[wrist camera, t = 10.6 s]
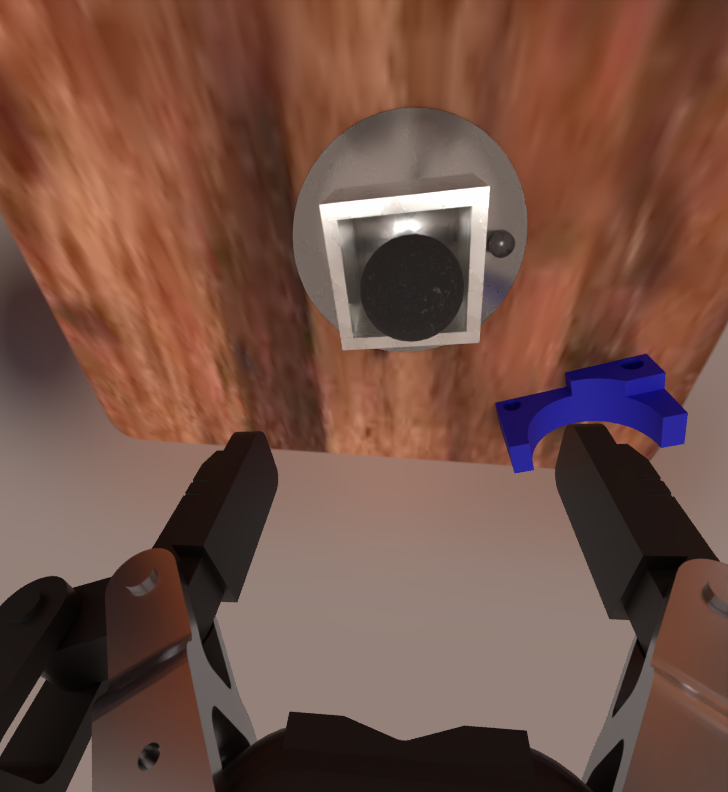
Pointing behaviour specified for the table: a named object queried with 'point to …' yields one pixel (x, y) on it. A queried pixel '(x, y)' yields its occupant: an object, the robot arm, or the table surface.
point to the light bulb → (412, 287)
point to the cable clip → (595, 407)
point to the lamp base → (409, 217)
